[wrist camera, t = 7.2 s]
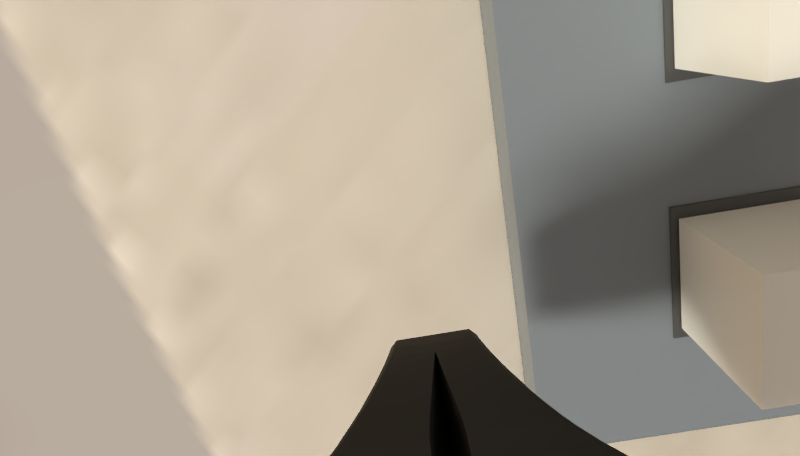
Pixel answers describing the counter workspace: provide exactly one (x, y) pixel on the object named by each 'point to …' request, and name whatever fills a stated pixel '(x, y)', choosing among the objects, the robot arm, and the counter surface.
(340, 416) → the counter surface
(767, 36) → the tab
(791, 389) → the beige small block
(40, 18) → the counter surface
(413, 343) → the robot arm
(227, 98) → the counter surface
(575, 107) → the switch board
